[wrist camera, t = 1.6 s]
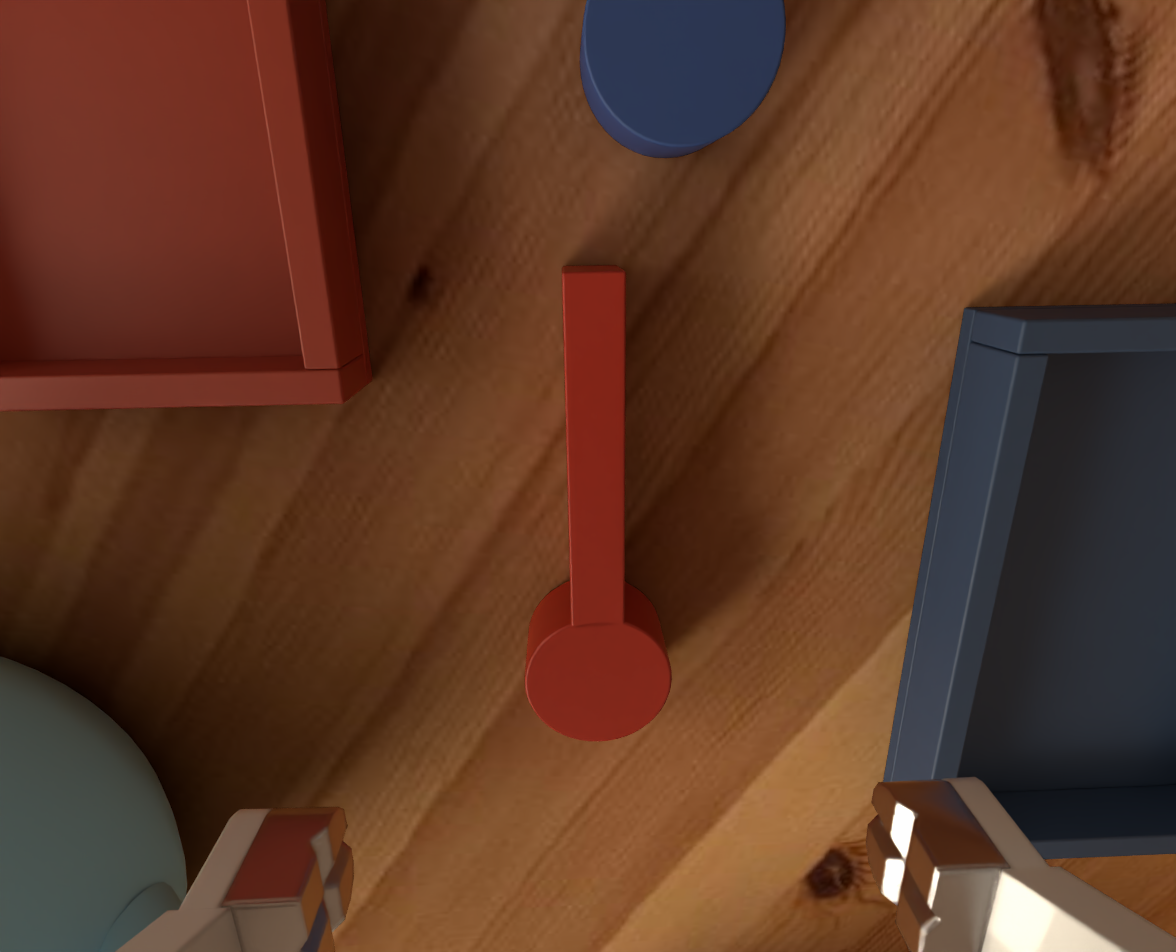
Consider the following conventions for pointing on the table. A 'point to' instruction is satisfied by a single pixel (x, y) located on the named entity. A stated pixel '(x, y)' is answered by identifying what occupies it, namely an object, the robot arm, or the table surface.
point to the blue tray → (1053, 580)
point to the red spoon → (596, 541)
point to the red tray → (174, 208)
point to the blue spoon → (678, 68)
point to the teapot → (78, 824)
